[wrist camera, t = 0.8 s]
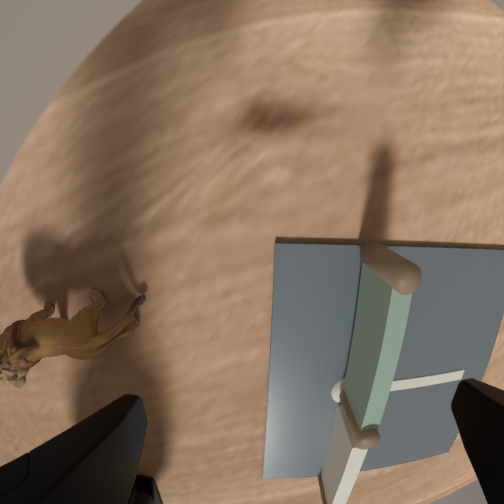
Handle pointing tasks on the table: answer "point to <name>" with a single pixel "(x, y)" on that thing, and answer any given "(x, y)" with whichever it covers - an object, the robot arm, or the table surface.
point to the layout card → (339, 344)
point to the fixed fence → (340, 462)
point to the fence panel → (377, 338)
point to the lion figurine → (59, 337)
